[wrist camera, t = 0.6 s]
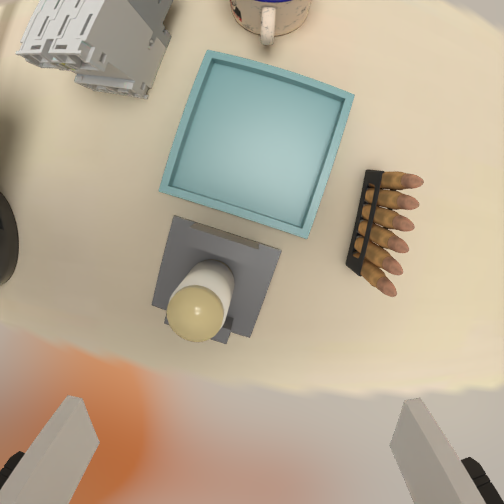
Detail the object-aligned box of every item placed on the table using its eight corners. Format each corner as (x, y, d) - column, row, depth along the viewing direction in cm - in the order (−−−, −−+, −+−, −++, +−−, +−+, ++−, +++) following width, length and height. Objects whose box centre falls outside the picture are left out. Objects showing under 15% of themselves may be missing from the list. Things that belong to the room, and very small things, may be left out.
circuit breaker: (189, -4, 28) (155, -80, 14) (147, 99, 31) (78, 56, 17) (135, -7, 28) (85, -71, 13) (93, 90, 31) (14, 56, 17)
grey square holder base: (152, 303, 37) (142, 315, 33) (174, 215, 34) (165, 219, 31) (250, 336, 37) (248, 351, 34) (281, 249, 35) (283, 257, 31)
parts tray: (165, 190, 34) (158, 191, 31) (210, 57, 30) (207, 49, 28) (304, 235, 34) (307, 239, 32) (348, 100, 31) (354, 94, 28)
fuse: (185, 292, 36) (159, 332, 26) (197, 251, 35) (171, 278, 25) (227, 306, 36) (215, 351, 26) (241, 265, 35) (232, 299, 25)
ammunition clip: (365, 169, 32) (414, 166, 21) (381, 173, 32) (434, 172, 21) (345, 264, 35) (381, 304, 23) (360, 267, 35) (401, 308, 23)
